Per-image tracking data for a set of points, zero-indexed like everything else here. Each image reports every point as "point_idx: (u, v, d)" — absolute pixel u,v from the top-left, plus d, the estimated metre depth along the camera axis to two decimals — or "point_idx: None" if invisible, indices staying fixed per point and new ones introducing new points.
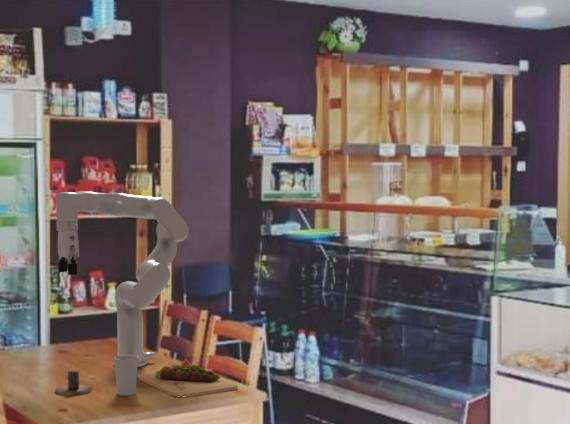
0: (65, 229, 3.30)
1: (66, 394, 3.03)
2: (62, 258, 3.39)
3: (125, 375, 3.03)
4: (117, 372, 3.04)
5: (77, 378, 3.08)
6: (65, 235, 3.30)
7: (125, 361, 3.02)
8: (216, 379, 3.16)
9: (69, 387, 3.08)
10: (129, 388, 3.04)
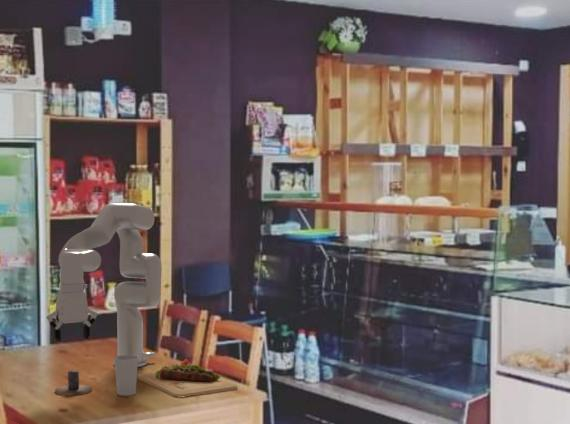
0: None
1: (66, 394, 3.03)
2: None
3: (125, 375, 3.03)
4: (117, 372, 3.04)
5: (77, 378, 3.08)
6: (84, 297, 3.08)
7: (125, 361, 3.02)
8: (216, 379, 3.17)
9: (69, 387, 3.08)
10: (129, 388, 3.04)
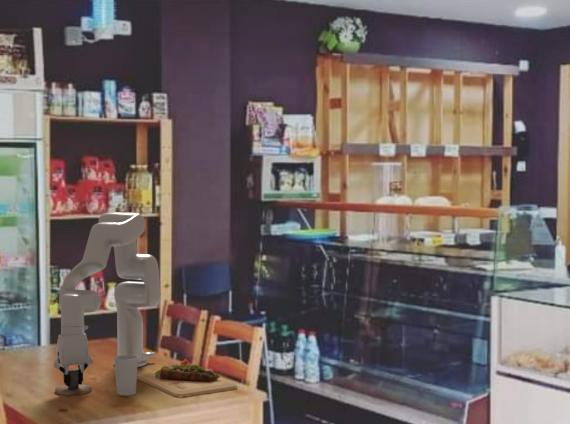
0: (83, 332, 3.08)
1: (66, 393, 3.03)
2: None
3: (125, 375, 3.03)
4: (117, 372, 3.04)
5: (77, 377, 3.08)
6: (85, 339, 3.09)
7: (125, 361, 3.02)
8: (216, 379, 3.17)
9: (69, 386, 3.08)
10: (129, 388, 3.04)
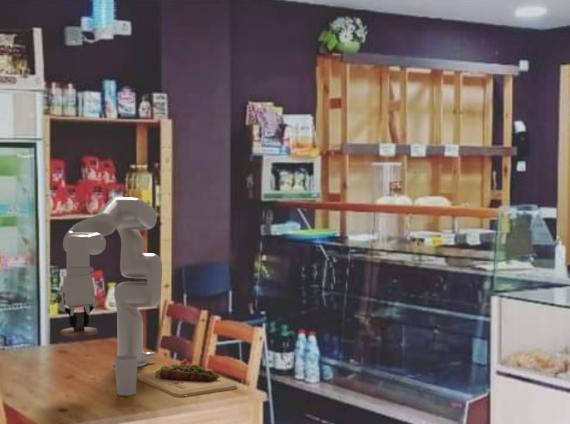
0: (89, 274, 3.07)
1: (71, 334, 3.02)
2: None
3: (125, 375, 3.03)
4: (117, 372, 3.04)
5: (82, 319, 3.07)
6: (91, 280, 3.07)
7: (125, 361, 3.02)
8: (215, 378, 3.17)
9: (74, 328, 3.07)
10: (129, 388, 3.04)
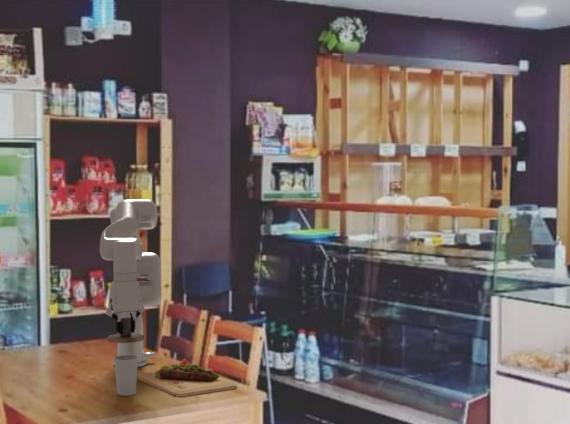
0: (136, 280, 3.05)
1: (119, 340, 3.00)
2: None
3: (125, 375, 3.03)
4: (117, 372, 3.04)
5: (129, 325, 3.04)
6: (138, 286, 3.05)
7: (125, 361, 3.02)
8: (215, 378, 3.18)
9: (121, 334, 3.04)
10: (129, 388, 3.04)
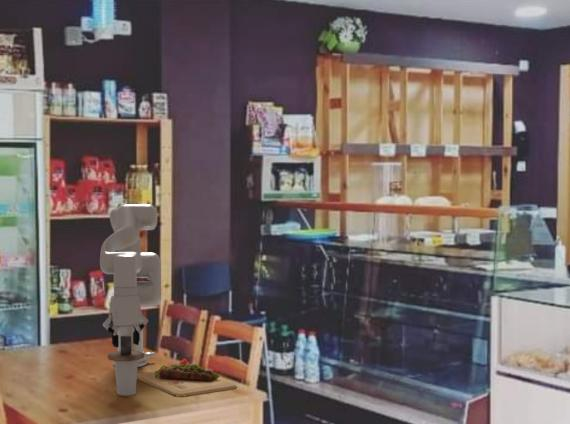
0: (136, 294, 3.05)
1: (120, 359, 3.00)
2: None
3: (125, 375, 3.03)
4: (117, 372, 3.04)
5: (130, 343, 3.05)
6: (138, 300, 3.05)
7: (125, 361, 3.02)
8: (215, 378, 3.18)
9: (122, 352, 3.05)
10: (129, 388, 3.04)
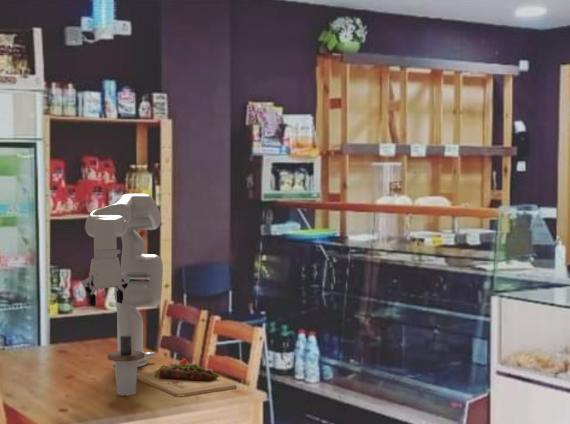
0: (116, 256, 3.12)
1: (120, 359, 3.00)
2: None
3: (125, 375, 3.03)
4: (117, 372, 3.04)
5: (130, 343, 3.05)
6: (118, 262, 3.12)
7: (125, 361, 3.02)
8: (215, 378, 3.18)
9: (122, 352, 3.05)
10: (129, 388, 3.04)
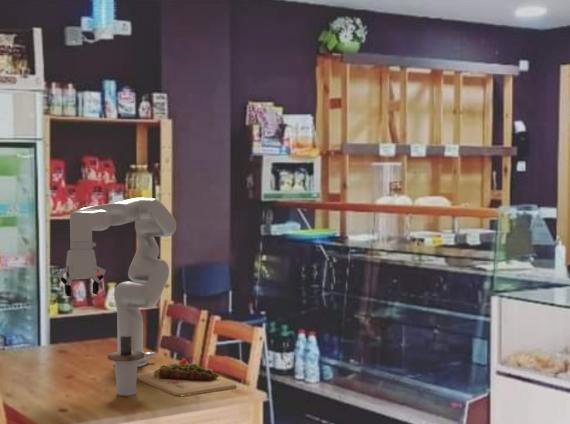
0: None
1: (120, 359, 3.00)
2: None
3: (125, 375, 3.03)
4: (117, 372, 3.04)
5: (130, 343, 3.05)
6: (93, 254, 3.22)
7: (125, 361, 3.02)
8: (215, 378, 3.19)
9: (122, 352, 3.05)
10: (129, 388, 3.04)
